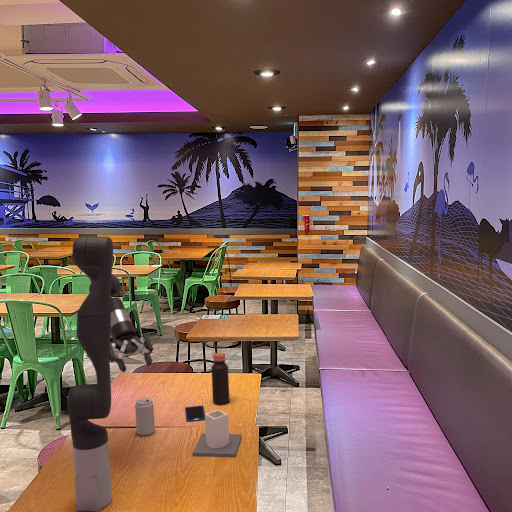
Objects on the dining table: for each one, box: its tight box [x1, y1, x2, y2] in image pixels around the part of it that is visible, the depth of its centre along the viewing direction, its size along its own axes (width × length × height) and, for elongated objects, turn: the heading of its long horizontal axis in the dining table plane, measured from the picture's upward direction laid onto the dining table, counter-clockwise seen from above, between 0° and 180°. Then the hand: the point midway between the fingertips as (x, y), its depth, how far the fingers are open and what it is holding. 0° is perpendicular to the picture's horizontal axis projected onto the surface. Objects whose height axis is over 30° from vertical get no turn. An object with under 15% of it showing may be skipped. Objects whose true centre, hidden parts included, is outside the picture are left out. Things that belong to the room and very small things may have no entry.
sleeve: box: [204, 409, 230, 449], centre depth 173 cm, size 6×6×10 cm
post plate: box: [191, 433, 243, 458], centre depth 173 cm, size 14×14×7 cm
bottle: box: [210, 352, 230, 406], centre depth 210 cm, size 7×7×20 cm
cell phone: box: [184, 405, 206, 423], centre depth 200 cm, size 7×14×1 cm, turn 10°
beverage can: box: [134, 397, 156, 437], centre depth 185 cm, size 6×6×12 cm
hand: (137, 367), depth 163 cm, fingers open, 8 cm apart
